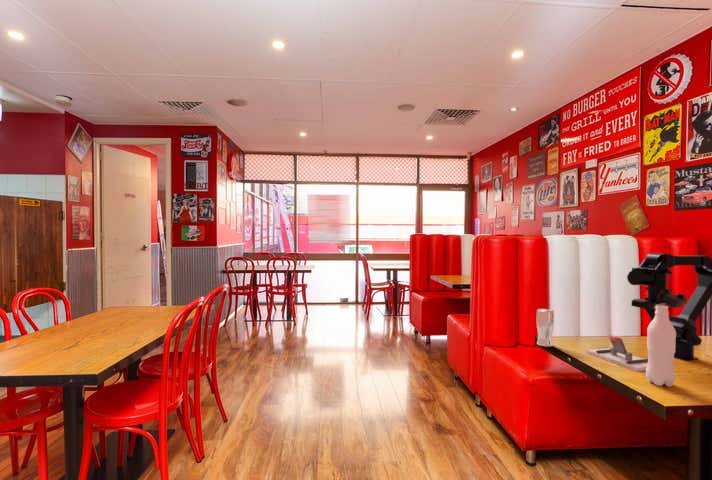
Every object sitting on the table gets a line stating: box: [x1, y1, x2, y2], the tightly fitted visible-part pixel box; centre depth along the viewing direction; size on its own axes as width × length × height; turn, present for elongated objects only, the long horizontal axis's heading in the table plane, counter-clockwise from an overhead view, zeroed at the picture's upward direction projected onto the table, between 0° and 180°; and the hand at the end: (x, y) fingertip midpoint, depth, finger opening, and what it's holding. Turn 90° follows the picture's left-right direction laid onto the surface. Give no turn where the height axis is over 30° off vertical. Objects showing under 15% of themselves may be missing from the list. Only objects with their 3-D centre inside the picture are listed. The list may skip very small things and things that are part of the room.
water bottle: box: [645, 305, 676, 388], centre depth 115 cm, size 7×7×25 cm
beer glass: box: [535, 308, 555, 348], centre depth 155 cm, size 7×7×15 cm
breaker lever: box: [608, 335, 628, 355], centre depth 136 cm, size 2×4×7 cm, turn 15°
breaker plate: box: [586, 347, 648, 372], centre depth 137 cm, size 12×20×4 cm, turn 15°
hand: (656, 325), depth 139 cm, fingers closed
